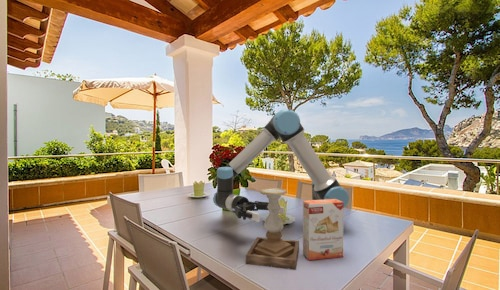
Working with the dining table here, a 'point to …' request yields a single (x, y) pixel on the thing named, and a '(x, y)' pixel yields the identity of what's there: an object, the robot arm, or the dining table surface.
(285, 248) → the candle holder
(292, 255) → the tray
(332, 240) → the cracker box
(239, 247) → the dining table surface
